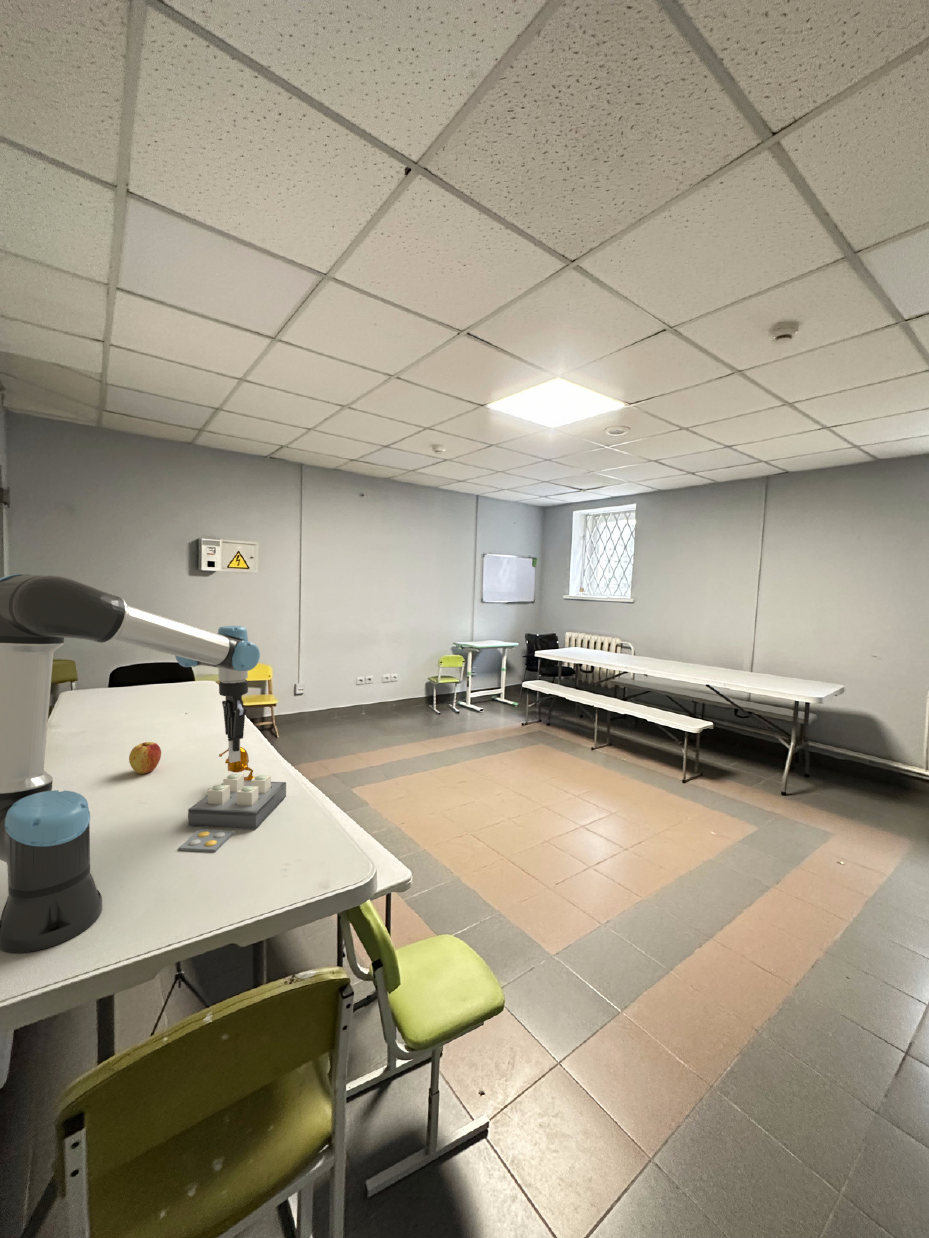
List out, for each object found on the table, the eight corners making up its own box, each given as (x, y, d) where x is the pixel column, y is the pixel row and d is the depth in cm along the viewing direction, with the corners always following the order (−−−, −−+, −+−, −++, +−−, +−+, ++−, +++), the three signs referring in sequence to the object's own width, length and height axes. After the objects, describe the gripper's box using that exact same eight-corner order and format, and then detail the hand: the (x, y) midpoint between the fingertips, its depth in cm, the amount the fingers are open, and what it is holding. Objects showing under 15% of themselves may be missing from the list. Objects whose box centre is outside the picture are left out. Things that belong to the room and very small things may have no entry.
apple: (158, 775, 163) (157, 745, 162) (125, 778, 160) (125, 748, 159) (163, 765, 171) (163, 737, 171) (132, 768, 168) (132, 739, 167)
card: (215, 851, 118) (215, 848, 118) (178, 850, 119) (178, 846, 119) (234, 833, 127) (234, 830, 127) (199, 831, 128) (199, 828, 128)
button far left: (237, 793, 142) (237, 778, 141) (223, 793, 142) (223, 778, 142) (243, 787, 146) (243, 773, 145) (230, 787, 146) (230, 772, 146)
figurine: (218, 783, 158) (218, 746, 157) (253, 775, 165) (253, 740, 164) (225, 792, 152) (225, 753, 151) (261, 784, 158) (262, 747, 158)
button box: (255, 829, 130) (255, 812, 129) (188, 826, 130) (188, 809, 130) (286, 796, 150) (286, 782, 149) (227, 794, 150) (227, 779, 150)
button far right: (264, 794, 142) (264, 779, 141) (250, 794, 142) (250, 779, 141) (270, 789, 146) (270, 774, 145) (257, 788, 146) (257, 774, 145)
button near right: (251, 807, 134) (251, 791, 133) (237, 806, 134) (237, 790, 133) (258, 800, 138) (258, 785, 137) (244, 800, 138) (244, 784, 137)
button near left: (222, 806, 134) (222, 790, 134) (207, 805, 134) (207, 789, 134) (229, 799, 138) (229, 784, 138) (215, 799, 138) (215, 783, 138)
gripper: (255, 682, 139) (256, 764, 141) (239, 675, 149) (240, 752, 151) (227, 685, 134) (228, 770, 136) (212, 678, 144) (213, 757, 146)
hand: (234, 760), depth 144 cm, fingers closed
